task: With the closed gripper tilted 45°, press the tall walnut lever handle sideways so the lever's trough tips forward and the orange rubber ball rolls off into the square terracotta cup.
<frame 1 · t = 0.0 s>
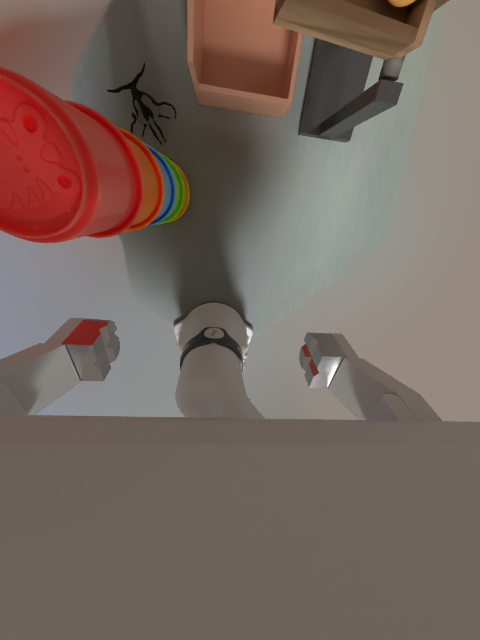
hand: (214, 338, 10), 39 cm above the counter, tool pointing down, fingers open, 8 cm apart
creature: (151, 118, 36), on the counter
lever stand: (335, 78, 35), on the counter
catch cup: (245, 61, 33), on the counter
stacking cups: (161, 191, 40), on the counter
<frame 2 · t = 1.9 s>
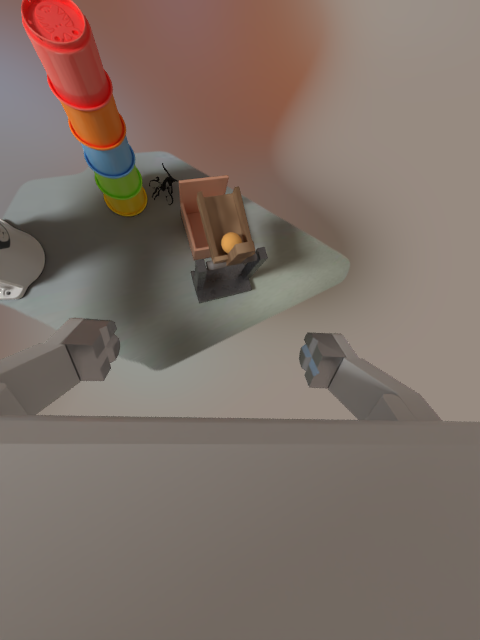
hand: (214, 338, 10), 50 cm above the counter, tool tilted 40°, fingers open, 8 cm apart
creature: (163, 192, 61), on the counter
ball: (231, 243, 43), point 19 cm above the counter, touching lever
lever: (229, 223, 41), point 21 cm above the counter, hinge at -8.0°, touching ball
lever stand: (221, 282, 62), on the counter
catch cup: (207, 233, 62), on the counter
stacking cups: (126, 198, 59), on the counter
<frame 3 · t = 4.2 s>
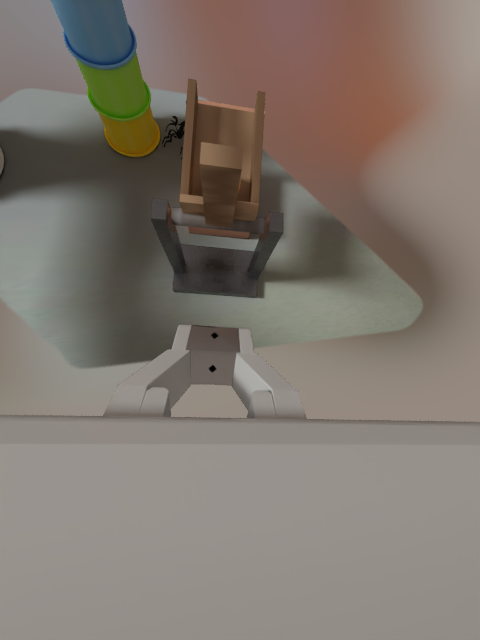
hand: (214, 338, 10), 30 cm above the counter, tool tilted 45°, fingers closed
creature: (180, 143, 46), on the counter
lever: (223, 138, 22), point 21 cm above the counter, hinge at -8.0°, touching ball
lever stand: (216, 272, 42), on the counter
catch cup: (221, 205, 44), on the counter
stacking cups: (134, 136, 45), on the counter
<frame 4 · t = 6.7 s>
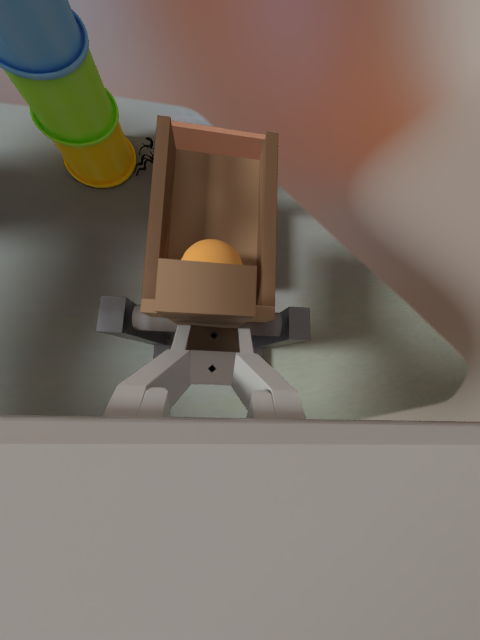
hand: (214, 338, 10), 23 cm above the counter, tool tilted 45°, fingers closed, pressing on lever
creature: (158, 170, 36), on the counter
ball: (212, 272, 14), point 19 cm above the counter, touching lever
lever: (214, 209, 13), point 21 cm above the counter, hinge at -3.4°, touching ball, gripper
lever stand: (210, 339, 32), on the counter
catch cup: (215, 248, 35), on the counter
stacking cups: (102, 160, 35), on the counter
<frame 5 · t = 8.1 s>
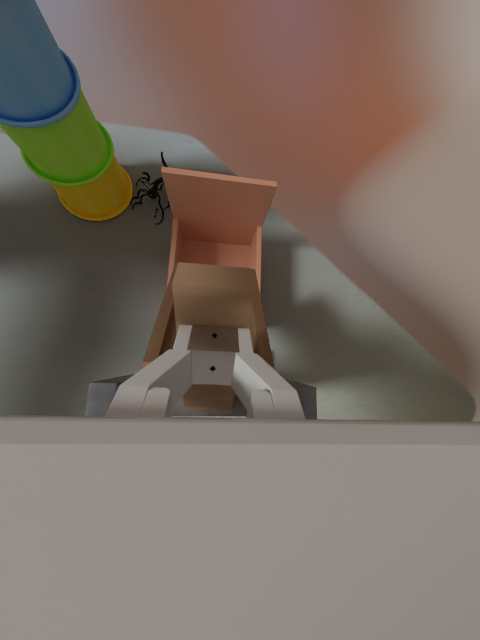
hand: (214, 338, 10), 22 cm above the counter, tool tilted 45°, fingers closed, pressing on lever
creature: (156, 202, 35), on the counter
lever: (214, 296, 17), point 16 cm above the counter, hinge at 37.5°, touching gripper
lever stand: (209, 380, 31), on the counter
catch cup: (215, 282, 34), on the counter
stacking cups: (98, 191, 34), on the counter
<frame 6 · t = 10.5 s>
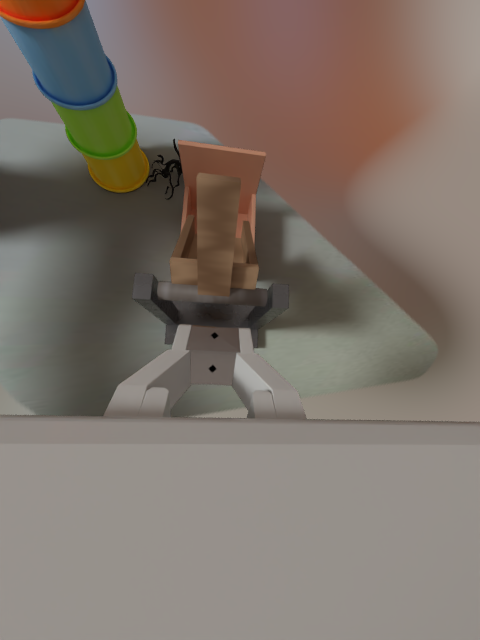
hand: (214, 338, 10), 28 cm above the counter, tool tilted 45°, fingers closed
creature: (167, 182, 42), on the counter
lever: (218, 226, 24), point 16 cm above the counter, hinge at 38.2°
lever stand: (213, 321, 38), on the counter
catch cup: (218, 244, 41), on the counter
stacking cups: (121, 169, 41), on the counter
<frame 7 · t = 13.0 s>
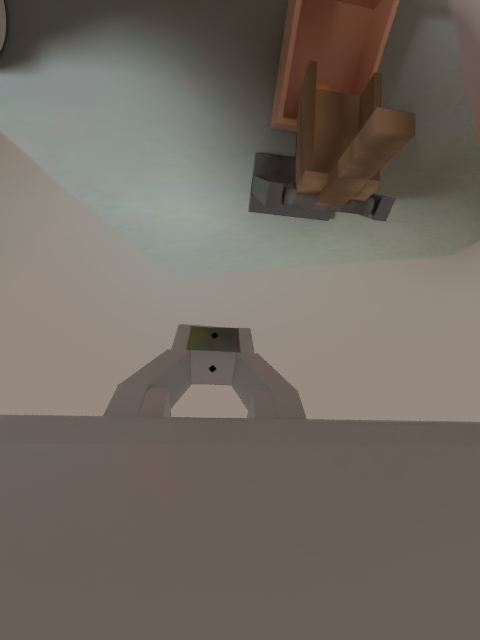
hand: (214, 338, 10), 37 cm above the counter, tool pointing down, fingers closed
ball: (316, 103, 31), point 3 cm above the counter, tilted 170°, touching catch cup
lever: (352, 115, 22), point 16 cm above the counter, hinge at 38.2°
lever stand: (293, 188, 39), on the counter
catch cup: (317, 73, 31), on the counter
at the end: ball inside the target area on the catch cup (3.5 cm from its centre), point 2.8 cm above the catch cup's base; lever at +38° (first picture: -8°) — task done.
